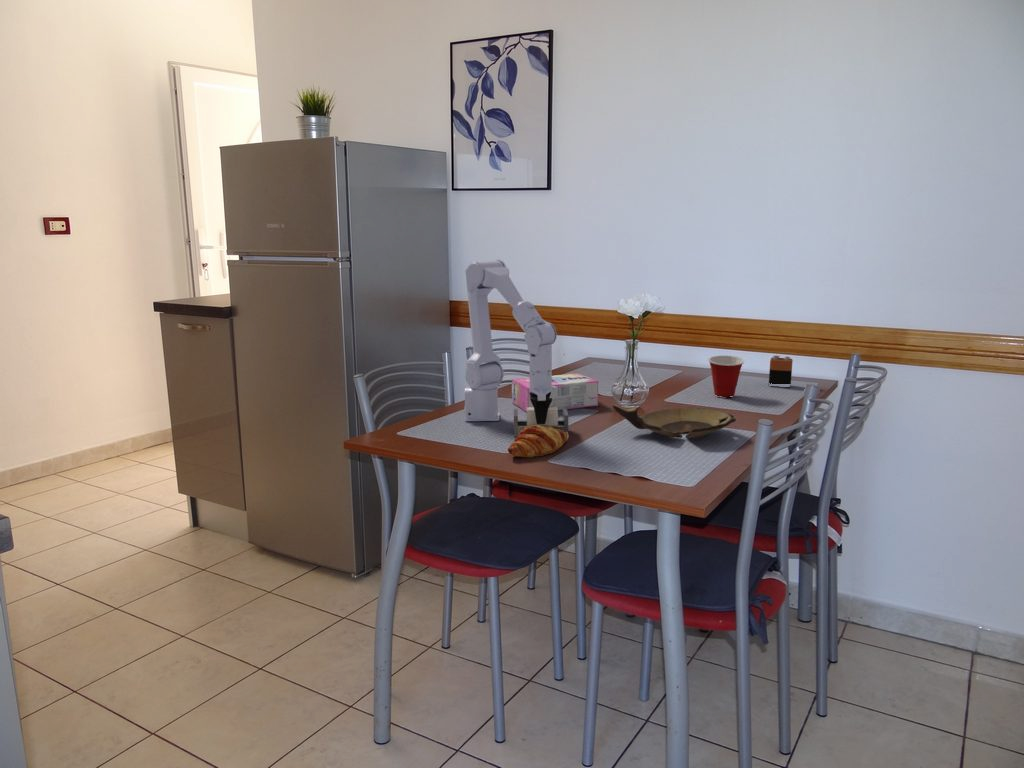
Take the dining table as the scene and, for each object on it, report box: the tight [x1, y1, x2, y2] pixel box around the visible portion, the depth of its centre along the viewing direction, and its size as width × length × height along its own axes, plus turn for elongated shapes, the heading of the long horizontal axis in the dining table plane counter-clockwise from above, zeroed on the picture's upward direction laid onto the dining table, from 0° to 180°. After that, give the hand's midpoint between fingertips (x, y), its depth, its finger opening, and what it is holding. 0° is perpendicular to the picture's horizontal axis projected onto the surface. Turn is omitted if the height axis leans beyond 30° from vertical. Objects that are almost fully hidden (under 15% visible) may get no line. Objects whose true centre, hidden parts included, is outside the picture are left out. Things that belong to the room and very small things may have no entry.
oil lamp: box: [612, 404, 737, 439], centre depth 204 cm, size 22×30×8 cm
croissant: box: [507, 425, 569, 458], centre depth 190 cm, size 21×10×8 cm, turn 138°
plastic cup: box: [708, 355, 745, 397], centre depth 244 cm, size 11×11×12 cm
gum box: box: [511, 372, 599, 413], centre depth 235 cm, size 24×8×14 cm
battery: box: [768, 355, 793, 385], centre depth 257 cm, size 4×7×10 cm, turn 68°
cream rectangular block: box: [526, 407, 559, 426], centre depth 205 cm, size 8×3×6 cm, turn 90°
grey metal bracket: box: [513, 408, 569, 438], centre depth 205 cm, size 14×7×6 cm, turn 90°
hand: (540, 421), depth 205 cm, fingers open, 5 cm apart
